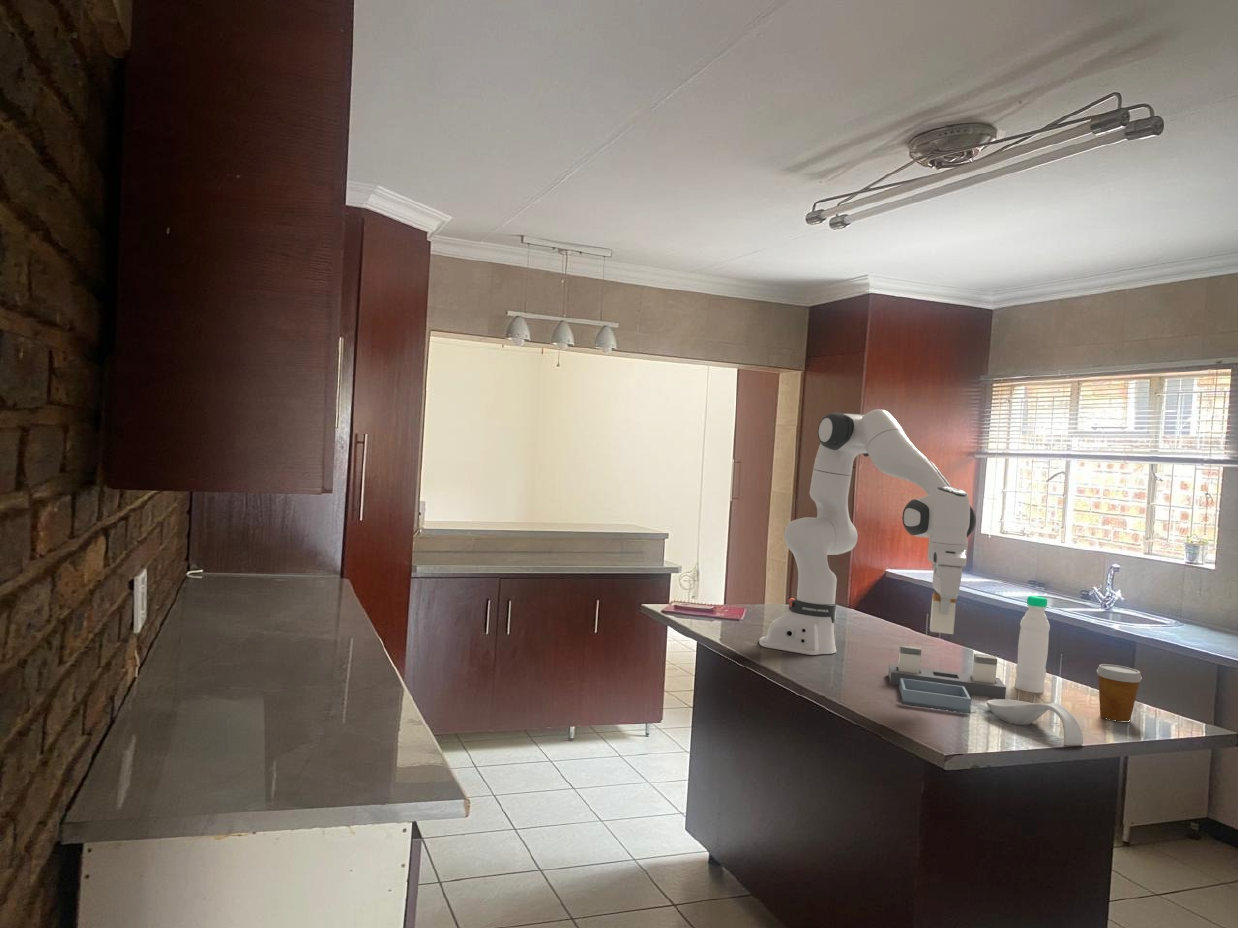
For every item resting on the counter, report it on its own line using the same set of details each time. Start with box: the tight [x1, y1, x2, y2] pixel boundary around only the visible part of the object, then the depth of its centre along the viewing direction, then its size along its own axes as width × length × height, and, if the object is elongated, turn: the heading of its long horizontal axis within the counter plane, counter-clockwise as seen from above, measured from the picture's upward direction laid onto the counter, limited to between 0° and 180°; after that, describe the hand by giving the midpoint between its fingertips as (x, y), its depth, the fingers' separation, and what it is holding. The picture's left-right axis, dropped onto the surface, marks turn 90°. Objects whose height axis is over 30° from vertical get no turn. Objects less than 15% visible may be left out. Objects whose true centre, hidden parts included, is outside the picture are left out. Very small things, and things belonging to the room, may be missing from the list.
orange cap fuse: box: [929, 591, 957, 635], centre depth 215 cm, size 5×4×9 cm
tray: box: [898, 678, 972, 714], centre depth 215 cm, size 15×12×4 cm
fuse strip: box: [888, 663, 1007, 700], centre depth 228 cm, size 27×10×4 cm, turn 76°
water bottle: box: [1014, 595, 1051, 694], centre depth 233 cm, size 7×7×25 cm
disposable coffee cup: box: [1096, 663, 1143, 721], centre depth 214 cm, size 10×10×12 cm
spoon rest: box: [986, 698, 1084, 747], centre depth 200 cm, size 24×12×7 cm, turn 19°
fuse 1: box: [897, 644, 922, 673], centre depth 230 cm, size 5×4×9 cm
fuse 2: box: [972, 653, 998, 683], centre depth 226 cm, size 5×4×9 cm
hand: (942, 612), depth 215 cm, fingers closed on orange cap fuse, 3 cm apart
